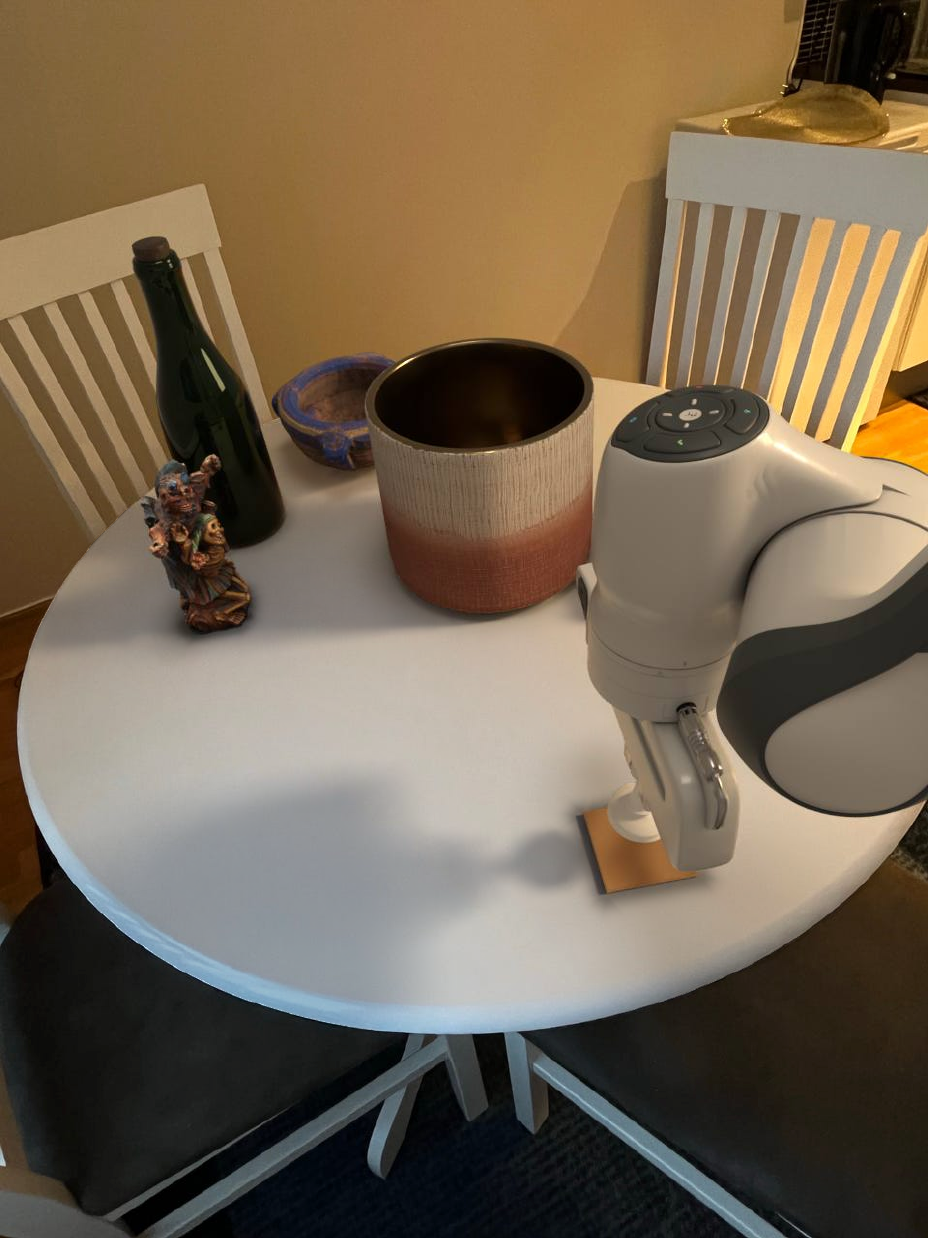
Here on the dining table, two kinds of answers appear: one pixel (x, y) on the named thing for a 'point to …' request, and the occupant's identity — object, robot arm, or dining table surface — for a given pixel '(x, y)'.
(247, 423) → the green wine bottle
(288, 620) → the dining table surface
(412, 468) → the planter
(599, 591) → the robot arm
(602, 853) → the coaster
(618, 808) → the chess piece
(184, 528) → the figurine
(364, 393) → the bowl
